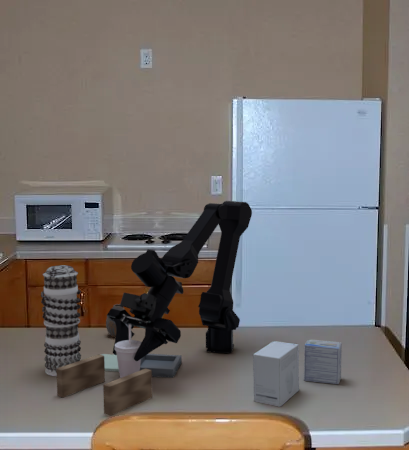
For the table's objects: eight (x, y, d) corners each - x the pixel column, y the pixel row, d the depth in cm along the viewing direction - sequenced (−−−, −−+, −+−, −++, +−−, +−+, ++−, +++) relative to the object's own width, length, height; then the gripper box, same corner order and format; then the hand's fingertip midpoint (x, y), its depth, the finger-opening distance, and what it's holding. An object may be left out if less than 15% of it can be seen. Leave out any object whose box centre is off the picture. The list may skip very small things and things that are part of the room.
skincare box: (272, 385, 145) (273, 339, 144) (299, 390, 142) (300, 344, 140) (251, 401, 136) (252, 352, 135) (280, 407, 133) (280, 358, 131)
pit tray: (181, 363, 159) (181, 355, 159) (173, 377, 149) (173, 369, 149) (142, 361, 161) (141, 353, 161) (131, 375, 151) (131, 367, 151)
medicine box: (341, 378, 149) (342, 342, 148) (338, 385, 145) (339, 347, 144) (307, 374, 151) (307, 338, 150) (303, 381, 147) (304, 344, 146)
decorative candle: (57, 361, 161) (53, 262, 157) (90, 366, 157) (87, 264, 154) (35, 374, 152) (31, 269, 149) (70, 378, 149) (66, 272, 146)
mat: (140, 358, 163) (140, 355, 163) (129, 372, 153) (129, 369, 153) (102, 356, 165) (101, 354, 164) (88, 369, 155) (88, 367, 155)
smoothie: (149, 383, 146) (148, 323, 144) (134, 393, 140) (133, 330, 138) (125, 379, 149) (123, 319, 147) (109, 388, 143) (108, 327, 141)
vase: (133, 332, 185) (132, 302, 184) (128, 339, 179) (127, 308, 177) (109, 331, 186) (108, 301, 185) (103, 338, 179) (102, 307, 178)
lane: (99, 379, 148) (98, 354, 148) (152, 397, 138) (151, 370, 137) (57, 395, 139) (56, 368, 138) (110, 415, 129) (109, 386, 128)
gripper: (111, 273, 150) (75, 330, 143) (171, 284, 138) (135, 346, 131) (136, 299, 157) (103, 355, 150) (195, 312, 146) (162, 373, 138)
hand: (124, 357), depth 142 cm, fingers closed on smoothie, 6 cm apart
